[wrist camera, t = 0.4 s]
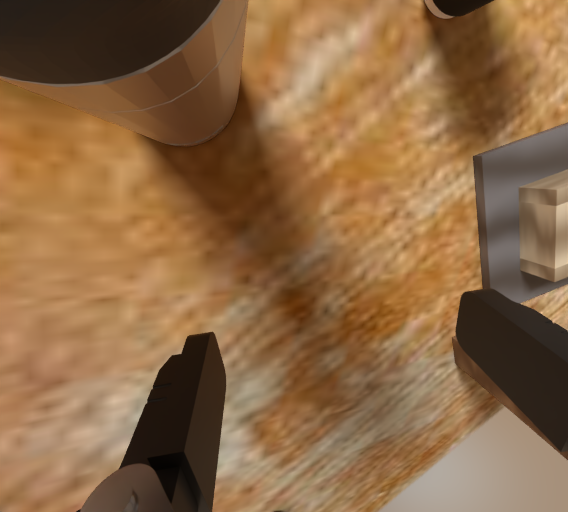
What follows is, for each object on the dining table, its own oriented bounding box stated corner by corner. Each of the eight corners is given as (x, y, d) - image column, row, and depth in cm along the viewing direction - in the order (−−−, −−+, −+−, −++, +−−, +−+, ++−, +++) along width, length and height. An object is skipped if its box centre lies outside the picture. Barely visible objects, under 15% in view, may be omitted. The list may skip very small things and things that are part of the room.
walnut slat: (452, 337, 33) (613, 459, 19) (489, 322, 34) (673, 431, 20) (455, 363, 35) (608, 495, 21) (490, 348, 35) (664, 468, 21)
